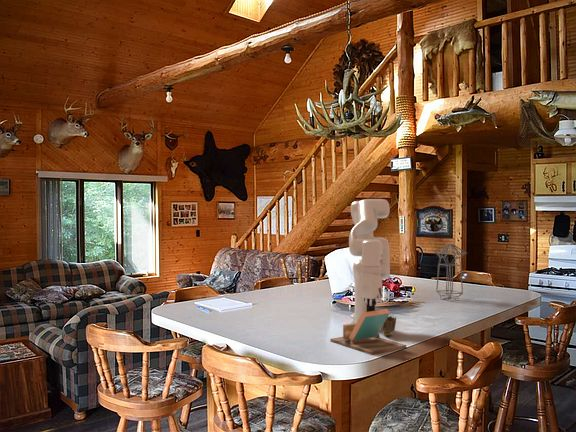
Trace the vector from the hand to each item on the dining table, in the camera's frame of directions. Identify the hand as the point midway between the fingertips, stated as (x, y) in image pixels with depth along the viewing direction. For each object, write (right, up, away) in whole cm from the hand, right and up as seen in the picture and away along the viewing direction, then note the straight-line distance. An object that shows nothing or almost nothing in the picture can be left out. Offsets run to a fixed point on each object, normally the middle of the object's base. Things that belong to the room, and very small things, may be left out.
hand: (370, 314), depth 213 cm
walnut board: (-1, -13, +2) cm, 13 cm away
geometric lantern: (+67, -12, +111) cm, 130 cm away
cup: (+10, -13, +17) cm, 23 cm away
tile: (-1, -4, +1) cm, 4 cm away
